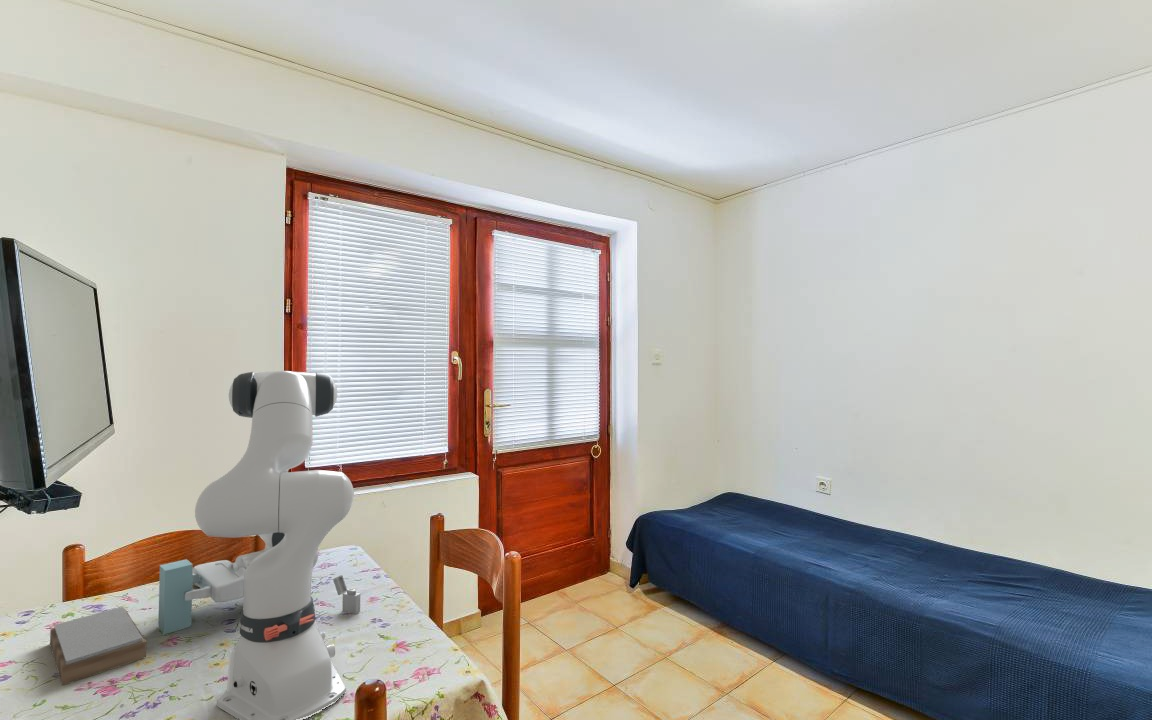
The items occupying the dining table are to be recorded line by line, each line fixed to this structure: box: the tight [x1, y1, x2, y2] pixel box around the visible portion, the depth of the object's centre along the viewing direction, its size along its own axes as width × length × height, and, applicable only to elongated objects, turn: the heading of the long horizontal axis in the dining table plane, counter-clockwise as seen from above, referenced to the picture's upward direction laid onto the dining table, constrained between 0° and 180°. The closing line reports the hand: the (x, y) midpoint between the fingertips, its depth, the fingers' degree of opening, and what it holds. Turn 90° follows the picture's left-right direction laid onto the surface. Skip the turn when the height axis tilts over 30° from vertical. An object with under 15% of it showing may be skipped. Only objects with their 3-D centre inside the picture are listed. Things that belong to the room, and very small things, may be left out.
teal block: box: [157, 558, 194, 635], centre depth 115 cm, size 5×5×14 cm
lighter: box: [332, 575, 361, 615], centre depth 123 cm, size 7×2×8 cm, turn 71°
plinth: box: [49, 606, 147, 686], centre depth 105 cm, size 22×12×4 cm, turn 50°
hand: (178, 590), depth 116 cm, fingers open, 8 cm apart
